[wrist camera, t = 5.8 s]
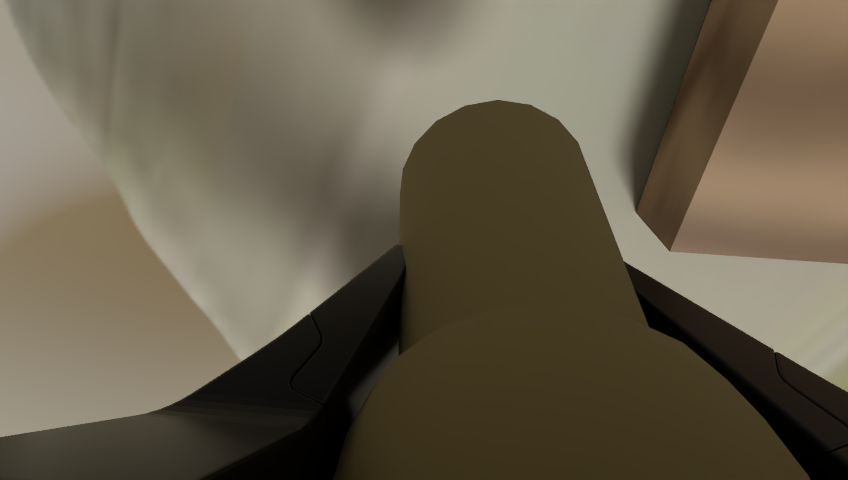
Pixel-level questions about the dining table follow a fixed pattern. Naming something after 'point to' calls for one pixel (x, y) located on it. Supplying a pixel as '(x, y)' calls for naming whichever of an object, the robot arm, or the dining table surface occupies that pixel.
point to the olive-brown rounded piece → (535, 332)
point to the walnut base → (758, 136)
